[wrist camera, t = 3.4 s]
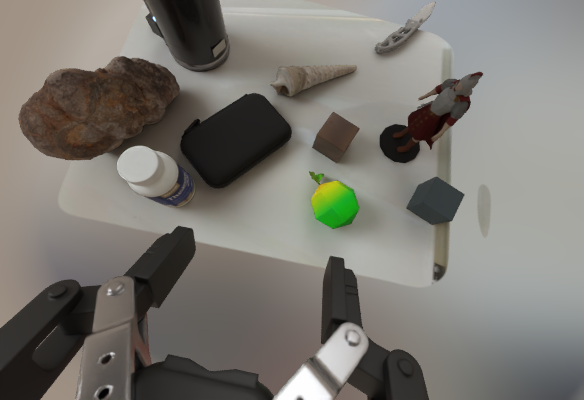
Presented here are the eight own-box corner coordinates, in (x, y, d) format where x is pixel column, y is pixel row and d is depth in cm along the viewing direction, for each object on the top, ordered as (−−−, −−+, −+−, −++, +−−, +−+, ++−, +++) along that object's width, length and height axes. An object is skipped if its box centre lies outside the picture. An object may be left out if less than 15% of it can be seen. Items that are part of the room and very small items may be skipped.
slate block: (406, 208, 35) (422, 202, 31) (418, 184, 36) (436, 176, 32) (431, 224, 34) (451, 221, 31) (443, 200, 35) (464, 194, 32)
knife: (427, 2, 45) (440, 10, 44) (372, 52, 41) (385, 61, 40) (432, -7, 43) (445, 1, 43) (375, 43, 39) (389, 53, 39)
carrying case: (254, 91, 37) (174, 142, 34) (252, 77, 34) (165, 131, 31) (296, 139, 36) (217, 196, 33) (298, 129, 33) (211, 191, 30)
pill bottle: (187, 213, 32) (151, 196, 22) (150, 201, 32) (98, 179, 22) (202, 178, 33) (174, 148, 24) (167, 166, 33) (124, 132, 24)
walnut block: (311, 147, 36) (316, 134, 32) (326, 126, 37) (333, 111, 33) (336, 163, 35) (344, 152, 32) (350, 141, 36) (359, 128, 33)
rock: (201, 145, 39) (164, 116, 41) (198, 69, 30) (152, 39, 33) (69, 195, 27) (29, 150, 29) (3, 95, 18) (-45, 44, 21)
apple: (366, 217, 26) (315, 158, 27) (326, 245, 29) (282, 191, 30) (374, 202, 32) (333, 154, 33) (341, 226, 35) (303, 182, 36)
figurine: (374, 127, 37) (440, 46, 23) (415, 122, 38) (504, 41, 24) (385, 165, 36) (461, 105, 21) (427, 159, 37) (528, 98, 22)
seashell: (266, 89, 38) (264, 63, 34) (346, 65, 41) (354, 39, 37) (277, 106, 36) (276, 81, 32) (359, 80, 40) (368, 54, 36)
